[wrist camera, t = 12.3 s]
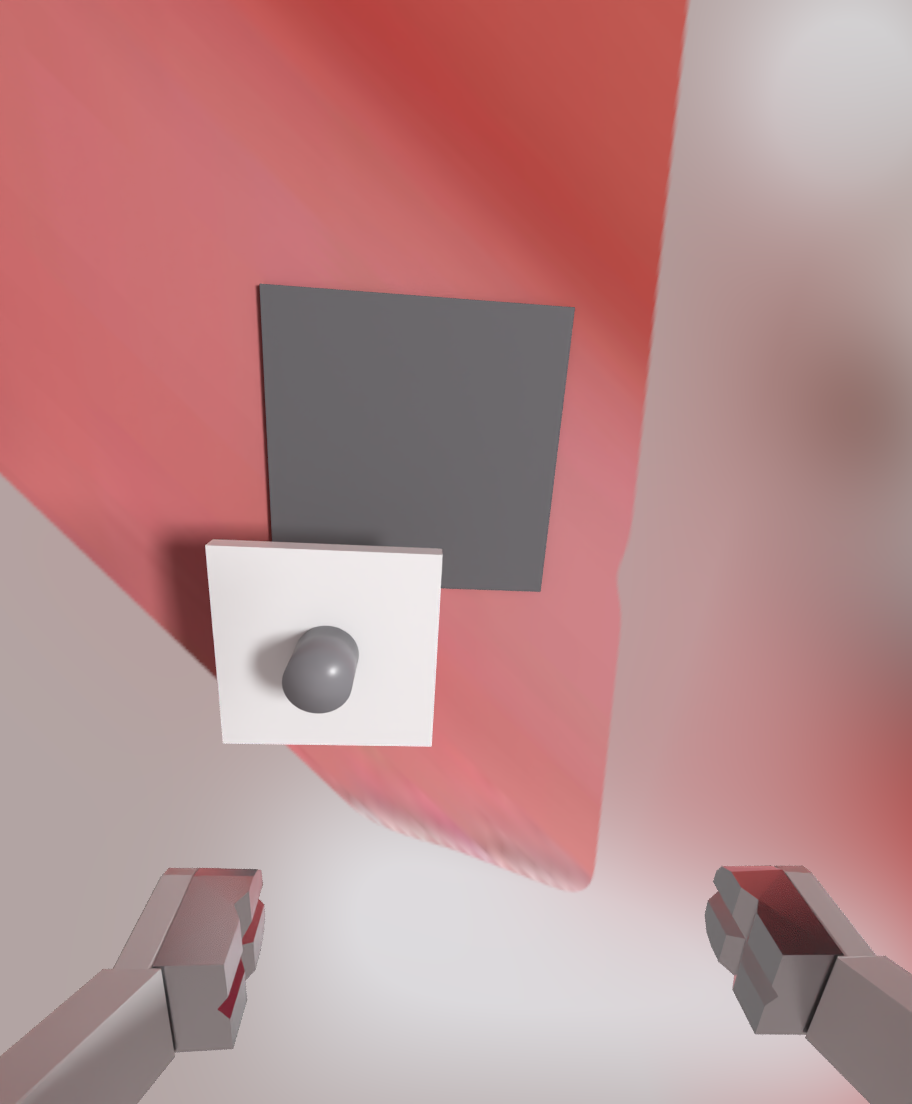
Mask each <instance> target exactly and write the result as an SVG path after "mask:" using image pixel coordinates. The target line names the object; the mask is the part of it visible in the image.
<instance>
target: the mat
mask: <svg viewBox="0 0 912 1104" xmlns="http://www.w3.org/2000/svg"><path fill="white" fill-rule="evenodd" d="M260 303H261V324H262V344H263V365H264V385H265V406H266V426H267V447H268V467H269V487H270V508H271V528H272V542H293V543H317V544H341V545H365V546H389V547H413V548H437V549H442V554H443V557H442V575H441V588H449V589H477V590H505V591H534V592H540V591H541V583H542V575H543V567H544V558H545V550H546V542H547V534H548V525H549V517H550V509H551V501H552V492H553V484H554V476H555V468H556V459H557V451H558V443H559V435H560V426H561V418H562V410H563V402H564V393H565V385H566V377H567V369H568V360H569V352H570V344H571V336H572V327H573V319H574V311H575V307H562V306H549V305H535V304H522V303H509V302H496V301H482V300H469V299H456V298H442V297H429V296H416V295H403V294H389V293H376V292H363V291H349V290H336V289H323V288H310V287H296V286H283V285H270V284H260Z"/></svg>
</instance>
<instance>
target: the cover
mask: <svg viewBox="0 0 912 1104" xmlns="http://www.w3.org/2000/svg"><path fill="white" fill-rule="evenodd" d="M205 549H206V560H207V571H208V583H209V594H210V605H211V616H212V627H213V638H214V649H215V660H216V671H217V682H218V694H219V705H220V715H221V727H222V738H223V743H229V744H230V743H231V744H298V745H367V746H432V730H433V713H434V696H435V678H436V661H437V644H438V627H439V609H440V592H441V575H442V557H443V554H442V549H437V548H413V547H389V546H365V545H341V544H317V543H293V542H269V541H245V540H220V539H212V540H211V541H210V542H209V543H207V544H206V545H205Z"/></svg>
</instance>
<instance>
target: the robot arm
mask: <svg viewBox="0 0 912 1104" xmlns="http://www.w3.org/2000/svg"><path fill="white" fill-rule="evenodd" d="M713 882H714V884H715V886H716V888H717V890H718V892H717V893H716V894H715V895H714V896H712V897H711V898H710V899H709V900H708V903H707V907H706V911H705V922H706V930H707V935H708V938H709V941H710V944H711V947H712V949H713V951H714V953H715V955H716V957H717V959H718V961H719V962H720V963H721V964H722V965H723V966H724V967H726V968H727V969H728V970H729V971H730V972H731V973H732V974H733V975H734V981H733V991H734V994H735V996H736V998H737V1000H738V1001H739V1003H740V1005H741V1007H742V1009H743V1011H744V1013H745V1015H746V1017H747V1019H748V1021H749V1023H750V1025H751V1027H752V1029H753V1031H754V1033H755V1034H798V1035H801V1034H804V1035H806V1037H805V1038H806V1039H807V1040H808V1041H809V1042H810V1043H811V1044H812V1045H813V1046H814V1047H815V1048H816V1049H817V1050H818V1051H819V1052H820V1053H821V1054H822V1055H823V1056H824V1057H825V1058H826V1059H827V1060H828V1061H829V1062H830V1063H831V1064H832V1065H833V1066H834V1067H835V1068H836V1069H837V1070H838V1071H839V1073H840V1074H842V1076H844V1078H845V1079H846V1080H848V1082H849V1083H850V1084H851V1085H852V1086H853V1087H854V1088H855V1089H856V1090H857V1091H858V1092H859V1093H860V1094H861V1095H862V1096H863V1097H864V1098H866V1100H867V1101H868V1102H869V1103H870V1104H912V974H910V973H909V972H908V971H906V970H905V969H903V968H902V967H900V966H899V965H897V964H896V963H894V962H893V961H892V960H890V959H889V958H887V957H886V956H876V955H875V953H874V952H873V951H872V949H871V948H870V947H869V946H868V944H867V943H866V942H865V940H864V939H863V938H862V937H861V935H860V934H859V933H858V931H857V930H856V929H855V928H854V926H853V925H852V924H851V923H850V921H849V920H848V919H847V917H846V916H845V915H844V913H843V912H842V911H841V910H840V908H839V907H838V906H837V904H836V903H835V902H834V901H833V899H832V898H831V897H830V896H829V894H828V893H827V892H826V890H825V889H824V888H823V886H822V885H821V884H820V883H819V881H818V880H817V879H816V877H815V876H814V875H813V874H812V872H810V871H809V870H808V869H807V868H805V867H804V866H771V865H765V866H722V867H720V868H719V870H717V871H716V874H715V877H714V881H713ZM262 886H263V882H262V872H261V870H258V869H221V868H168V870H167V871H166V872H165V873H164V874H163V875H162V876H161V877H160V879H159V881H158V883H157V885H156V887H155V889H154V890H153V892H152V894H151V897H150V898H149V900H148V902H147V904H146V906H145V908H144V910H143V912H142V914H141V915H140V918H139V919H138V921H137V923H136V925H135V927H134V929H133V931H132V933H131V935H130V937H129V939H128V941H127V942H126V944H125V946H124V948H123V950H122V952H121V954H120V956H119V958H118V960H117V962H116V964H115V966H114V967H113V969H102V970H101V971H100V972H99V973H98V974H97V975H95V976H94V977H93V978H92V979H91V980H89V981H88V982H87V983H86V984H85V985H84V986H82V987H81V988H80V989H79V990H78V991H77V992H75V993H74V994H73V995H72V996H71V997H70V998H68V999H67V1000H66V1001H65V1002H64V1003H62V1004H61V1005H60V1006H59V1007H58V1008H56V1009H55V1010H54V1011H53V1012H52V1013H51V1014H49V1015H48V1016H47V1017H46V1018H45V1019H44V1020H42V1021H41V1022H40V1023H39V1024H38V1025H37V1026H36V1027H34V1028H33V1029H32V1030H31V1031H29V1033H27V1034H26V1035H25V1036H24V1037H22V1038H21V1039H20V1040H19V1041H18V1042H16V1043H15V1044H14V1045H13V1046H12V1047H11V1048H9V1049H8V1050H7V1051H6V1052H5V1053H3V1054H2V1055H1V1056H0V1104H137V1103H138V1102H139V1101H140V1100H141V1098H142V1097H143V1096H144V1094H145V1093H146V1092H147V1091H148V1090H149V1088H150V1087H151V1086H152V1085H153V1083H154V1082H155V1081H156V1079H157V1078H158V1077H159V1076H160V1075H161V1073H162V1072H163V1071H164V1070H165V1069H166V1067H167V1066H168V1065H169V1063H170V1062H171V1061H172V1060H173V1059H174V1057H175V1053H174V1052H190V1051H207V1050H222V1049H233V1048H234V1044H235V1041H236V1037H237V1033H238V1030H239V1026H240V1023H241V1020H242V1016H243V1013H244V1009H245V1005H246V1002H247V993H246V982H245V981H246V979H247V978H248V977H249V976H250V975H251V974H252V973H253V972H254V971H255V969H256V966H257V962H258V958H259V955H260V951H261V945H262V939H263V933H264V923H265V909H264V904H263V903H262V902H261V901H260V900H259V896H260V893H261V889H262Z"/></svg>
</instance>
